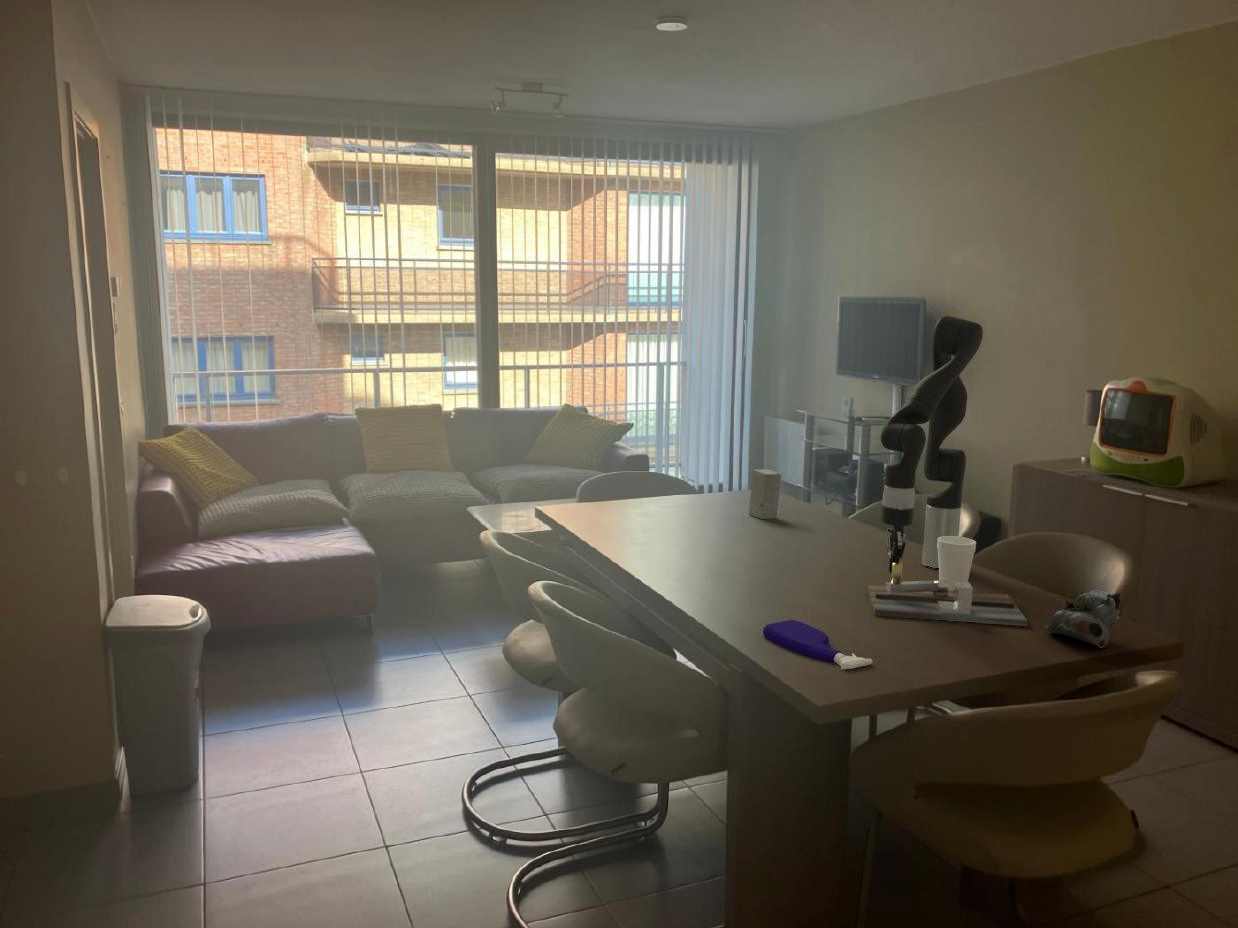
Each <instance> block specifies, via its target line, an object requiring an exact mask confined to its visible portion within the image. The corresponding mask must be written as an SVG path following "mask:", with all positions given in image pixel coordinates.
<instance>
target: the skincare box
mask: <svg viewBox="0 0 1238 928" xmlns="http://www.w3.org/2000/svg"><path fill="white" fill-rule="evenodd" d="M781 481H782V473H779V472H776V471H774V470H770V469H756V468H755V469H753V472H752V480H751V488H750V489H751V490H750V498H749V499H750V500H749V507H748V515H749V516H753V517H754V518H757V519H760V520H771V519H773V520H775V519H777V517H778V515H777V514H778V506H779V498H780V490H781V489H780V488H781Z"/></svg>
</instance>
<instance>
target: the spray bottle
mask: <svg viewBox="0 0 1238 928" xmlns="http://www.w3.org/2000/svg"><path fill="white" fill-rule="evenodd" d="M762 634H763V636H764V638H766V639H767V640H769V641H771V642H772V643H774V644H776V645H778V646H779V647H781V648H784V649H786V650H788V651H792V652H794V653H797V654H799V655H803V656H808V657H811V658H814V659H818V660H823V661H827V662H831V663H835V664H837V665H839V666H840V669H841V670H849V669H856V668H861V667H865V666H868V665H872V664H873V660H872V658H864V657H861V656H860V657H858V656H856V654H855V653H853V652H852V653H851V656H850V655H845V654H844V653H843V652H842V650H835V648H832V647H829V644H830V639H829V636H828V635H827V634H826V633H825V632H824V631H822V630H820V629H818V628H815V627H813V626H811V625H808V624H806V623H805V622H801V621H799V620H794V619H789V620H783V621H779V622H772V623H768V624H766V625H765V626H764V627H763V630H762Z"/></svg>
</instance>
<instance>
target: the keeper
mask: <svg viewBox="0 0 1238 928" xmlns="http://www.w3.org/2000/svg"><path fill="white" fill-rule="evenodd" d="M973 589H974V588H973V585H971V583H970V582H969V581H968V582H956V583H955V595H954V602H947V601H937V607H938V609H939V611H940V613H945V614H958V615H971V603H972V592H973Z"/></svg>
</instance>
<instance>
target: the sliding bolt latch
mask: <svg viewBox="0 0 1238 928" xmlns="http://www.w3.org/2000/svg"><path fill="white" fill-rule="evenodd" d="M867 590H868V591H867V593H868V597H870V598H869V602H870V601H871V602H870V605H871V604H872V605H871V608H873V609H872V612H873V615H875V616H874V617H884V616H887V617H888V618H900V619H911V618H918V619H917V620H924V619H940V620H956V621H958V620H962V621H979V622H995V623H1006V624H1007V623H1008V624H1018V625H1027V626H1028V619H1027V618H1026V617H1025V615H1024V613H1023V612H1022V611H1021V610H1020V609H1019V608H1018V606H1017V605H1016V604H1015V603H1014V601H1013V600H1012V598H1011V597H1010V596H1009V594H1001V593H985V592H972V603H971V615H958V614H945V613H940V611H939V609H938V607H937V601H947V602H954V595H955V591H947V592H940V591H930V592H901V593H890V592H888V591H886V585H873V584H872V585H871V584H867ZM887 617H886V618H887Z"/></svg>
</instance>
